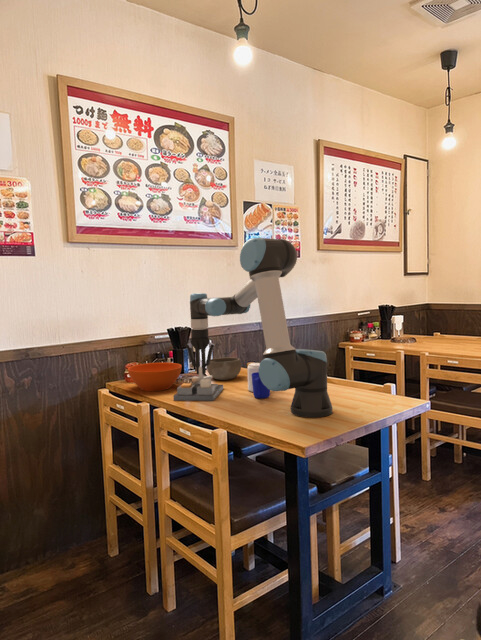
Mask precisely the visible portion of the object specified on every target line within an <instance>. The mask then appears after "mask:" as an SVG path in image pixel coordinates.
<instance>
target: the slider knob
mask: <svg viewBox="0 0 481 640" xmlns="http://www.w3.org/2000/svg"><path fill="white" fill-rule="evenodd" d="M191 383H192V385H196V387H199V386H200V382H199V376H193V377H191Z"/></svg>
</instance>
